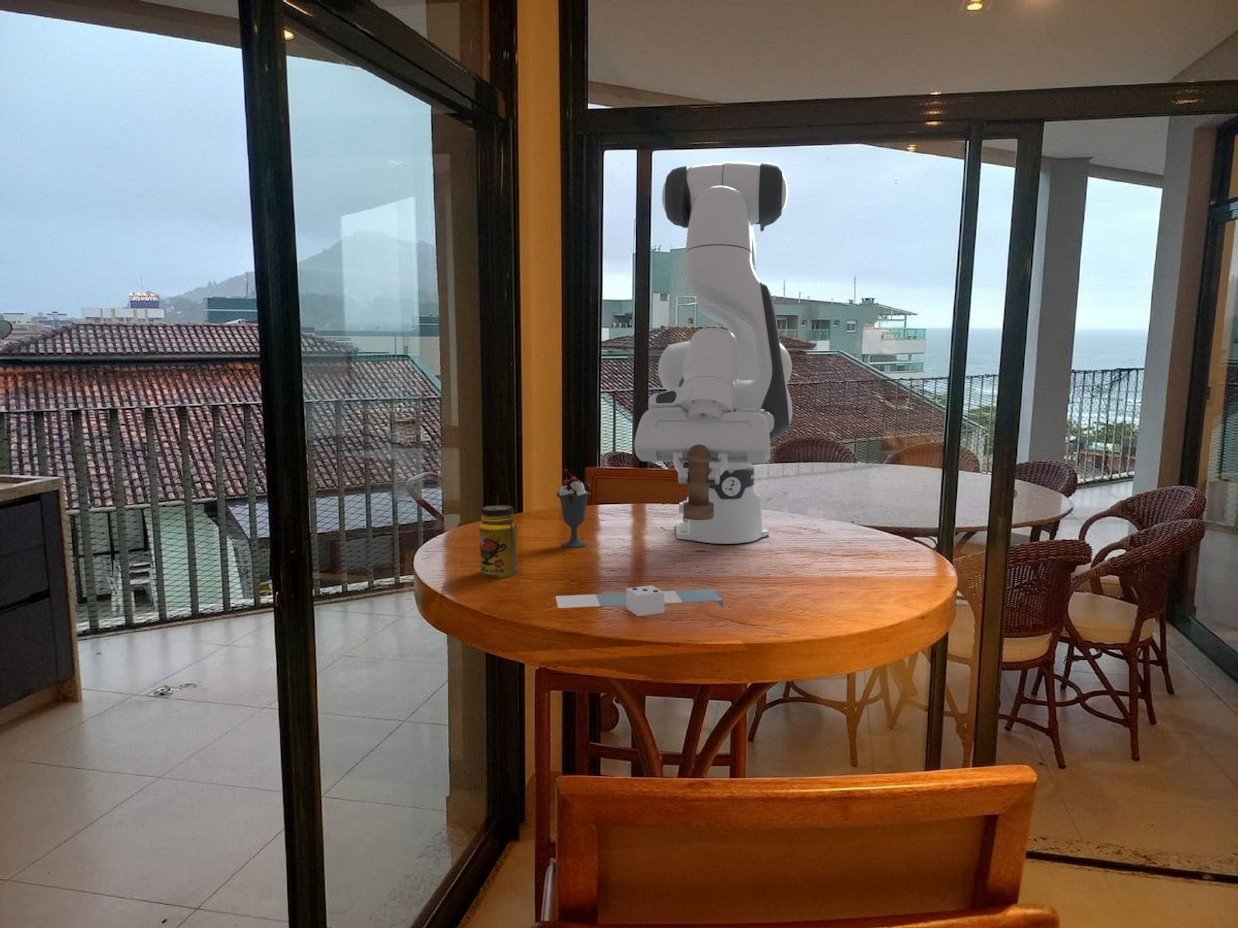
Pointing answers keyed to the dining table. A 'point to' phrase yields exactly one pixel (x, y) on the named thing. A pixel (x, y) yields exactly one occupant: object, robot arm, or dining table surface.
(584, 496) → the sundae
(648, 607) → the die
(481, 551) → the condiment
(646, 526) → the dining table surface
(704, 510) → the pawn
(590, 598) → the board
